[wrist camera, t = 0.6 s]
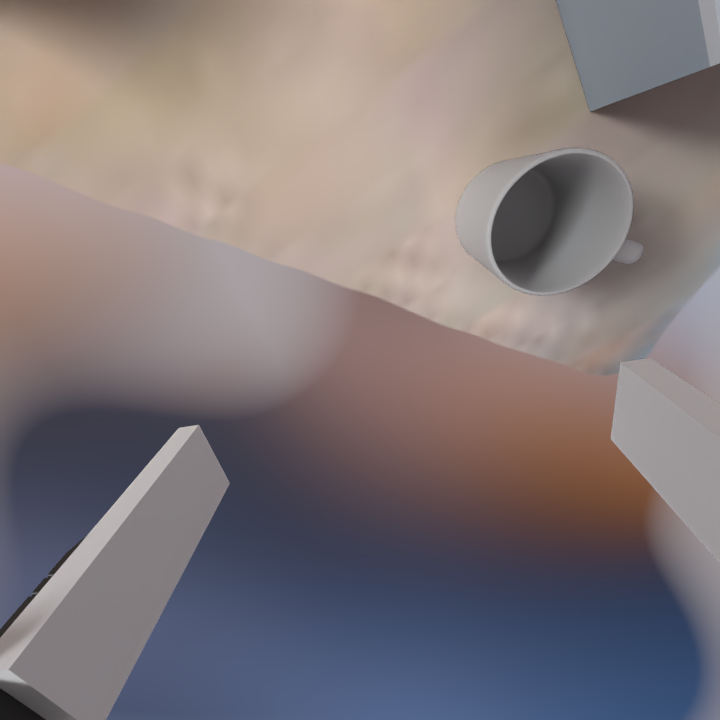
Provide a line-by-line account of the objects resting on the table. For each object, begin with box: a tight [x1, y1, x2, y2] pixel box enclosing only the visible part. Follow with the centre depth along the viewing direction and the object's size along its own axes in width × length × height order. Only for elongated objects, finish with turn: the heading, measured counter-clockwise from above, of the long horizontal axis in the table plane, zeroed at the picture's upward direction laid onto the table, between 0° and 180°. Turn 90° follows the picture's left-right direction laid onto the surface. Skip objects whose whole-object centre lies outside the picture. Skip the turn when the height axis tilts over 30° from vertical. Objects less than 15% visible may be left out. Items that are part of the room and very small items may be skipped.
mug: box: [455, 148, 644, 296], centre depth 26 cm, size 12×8×11 cm
